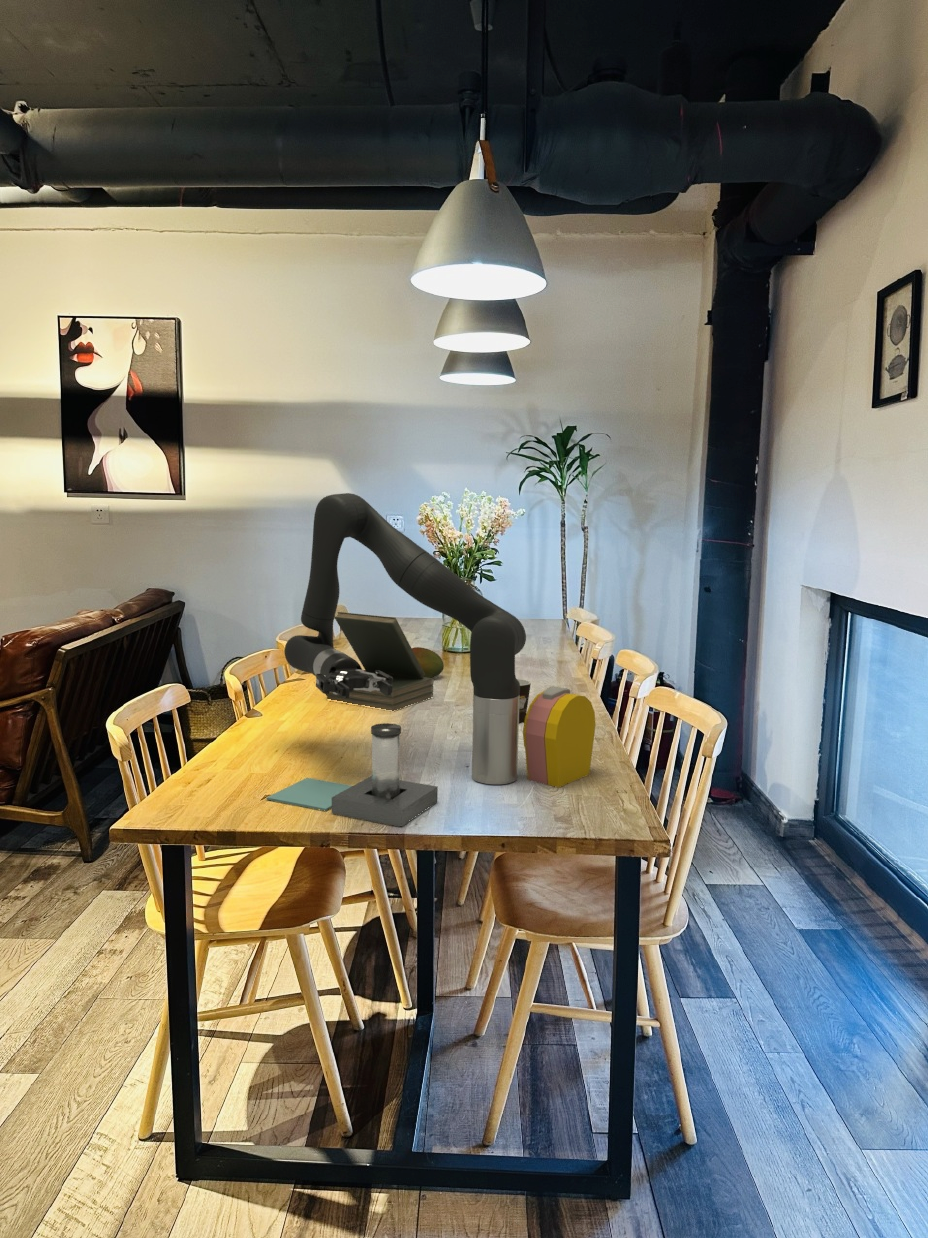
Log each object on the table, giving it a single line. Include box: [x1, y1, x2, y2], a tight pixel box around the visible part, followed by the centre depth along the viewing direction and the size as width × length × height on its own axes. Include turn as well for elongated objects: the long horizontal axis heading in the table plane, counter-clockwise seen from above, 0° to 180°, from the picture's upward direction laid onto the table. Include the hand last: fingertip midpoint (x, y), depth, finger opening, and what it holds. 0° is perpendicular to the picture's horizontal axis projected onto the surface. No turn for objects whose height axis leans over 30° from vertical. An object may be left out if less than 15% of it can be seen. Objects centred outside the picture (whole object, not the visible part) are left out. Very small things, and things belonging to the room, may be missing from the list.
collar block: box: [331, 775, 439, 827], centre depth 156 cm, size 14×14×3 cm
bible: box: [325, 611, 434, 712], centre depth 240 cm, size 23×20×25 cm
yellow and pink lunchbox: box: [522, 685, 596, 788], centre depth 175 cm, size 15×8×18 cm, turn 141°
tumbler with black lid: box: [370, 722, 402, 799], centre depth 155 cm, size 5×5×15 cm
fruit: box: [411, 646, 445, 679], centre depth 271 cm, size 12×13×10 cm
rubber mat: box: [265, 777, 353, 812], centre depth 162 cm, size 13×13×1 cm
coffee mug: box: [516, 678, 532, 724], centre depth 220 cm, size 12×9×10 cm
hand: (369, 692), depth 162 cm, fingers open, 8 cm apart
